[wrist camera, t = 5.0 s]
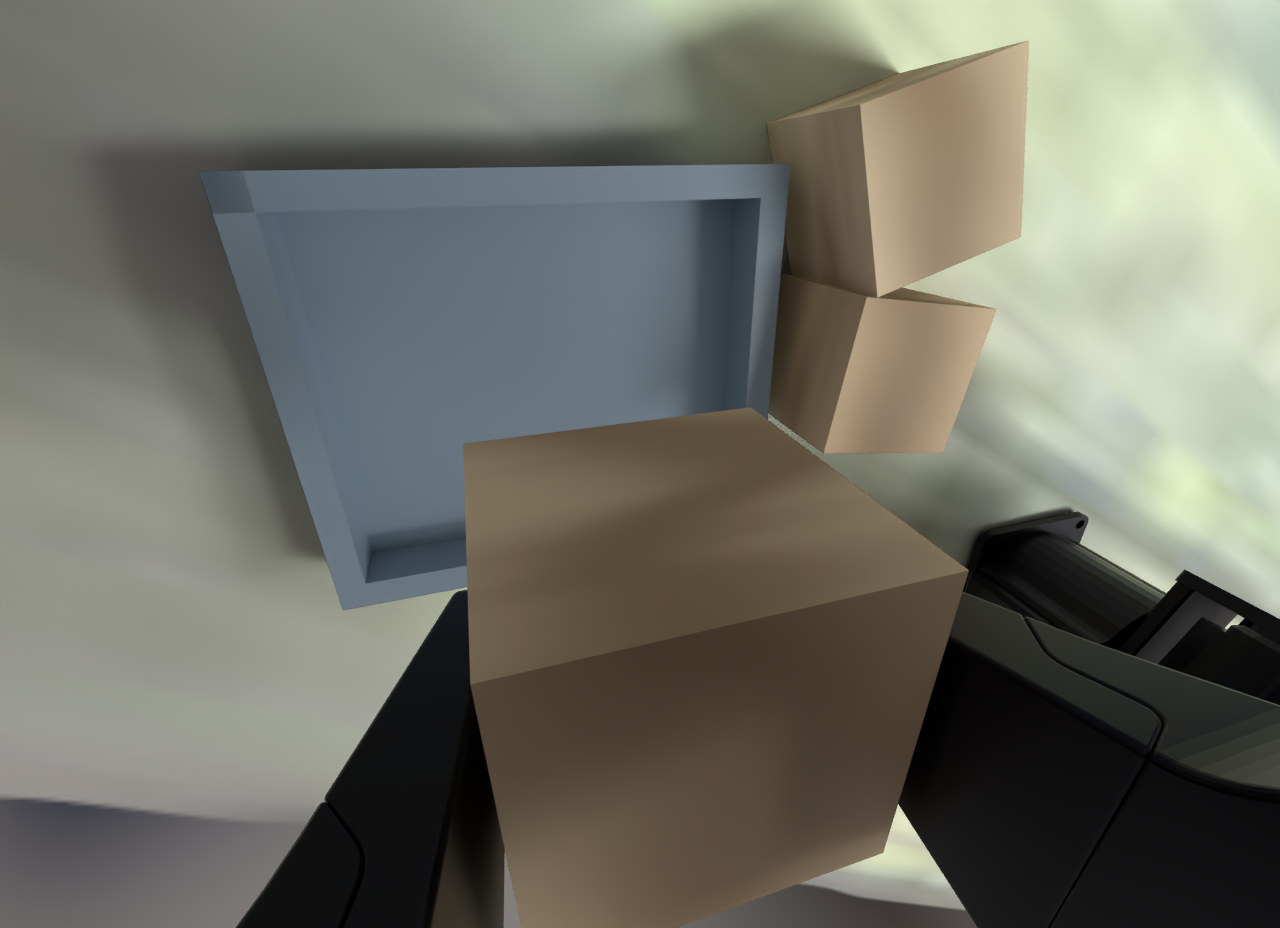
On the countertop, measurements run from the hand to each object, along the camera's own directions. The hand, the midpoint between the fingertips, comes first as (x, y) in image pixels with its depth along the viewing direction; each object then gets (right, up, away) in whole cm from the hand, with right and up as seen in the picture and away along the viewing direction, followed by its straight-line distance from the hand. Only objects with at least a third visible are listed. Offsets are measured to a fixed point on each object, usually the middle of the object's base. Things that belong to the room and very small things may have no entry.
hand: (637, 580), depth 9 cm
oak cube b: (+7, +6, +12) cm, 15 cm away
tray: (-3, +5, +9) cm, 11 cm away
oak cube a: (0, 0, +1) cm, 1 cm away
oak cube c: (+6, +11, +9) cm, 16 cm away
